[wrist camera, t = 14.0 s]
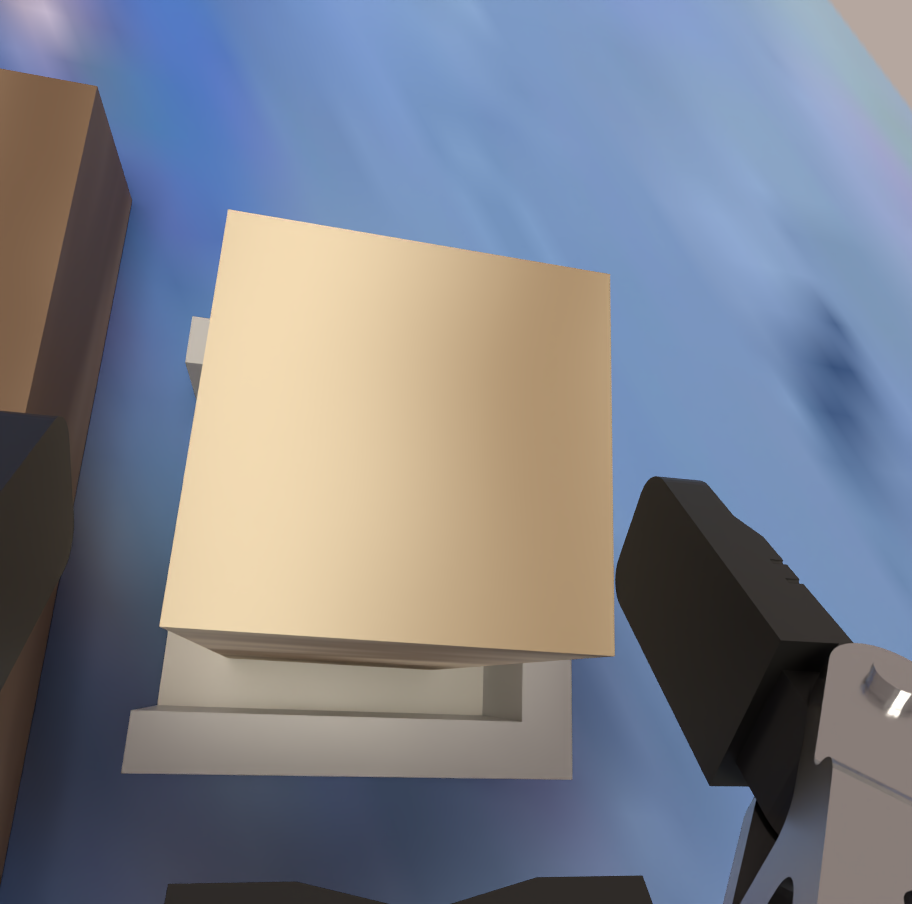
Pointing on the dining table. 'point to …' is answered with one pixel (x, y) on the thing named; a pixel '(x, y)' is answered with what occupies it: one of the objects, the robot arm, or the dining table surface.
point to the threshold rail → (52, 308)
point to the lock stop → (396, 456)
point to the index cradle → (348, 711)
